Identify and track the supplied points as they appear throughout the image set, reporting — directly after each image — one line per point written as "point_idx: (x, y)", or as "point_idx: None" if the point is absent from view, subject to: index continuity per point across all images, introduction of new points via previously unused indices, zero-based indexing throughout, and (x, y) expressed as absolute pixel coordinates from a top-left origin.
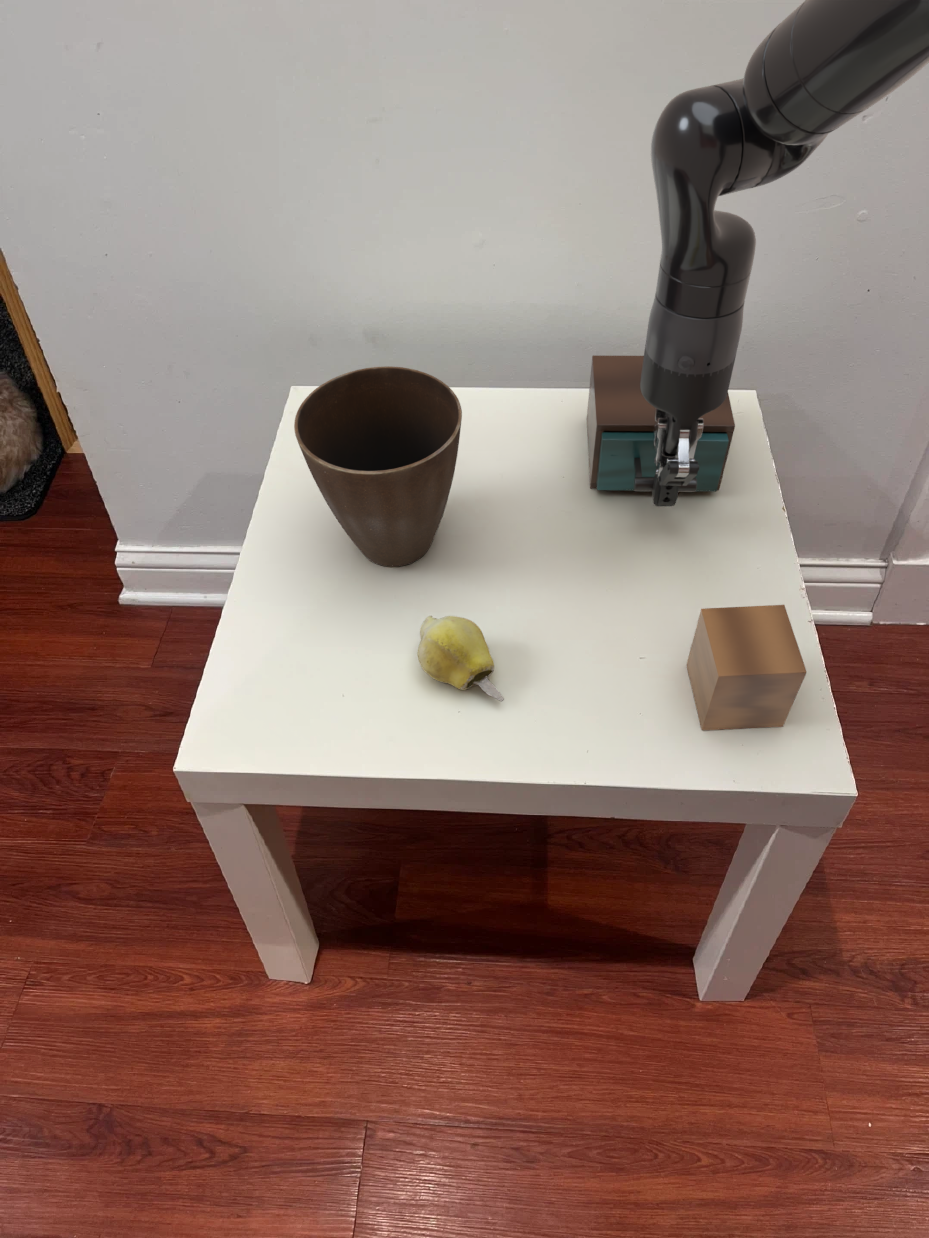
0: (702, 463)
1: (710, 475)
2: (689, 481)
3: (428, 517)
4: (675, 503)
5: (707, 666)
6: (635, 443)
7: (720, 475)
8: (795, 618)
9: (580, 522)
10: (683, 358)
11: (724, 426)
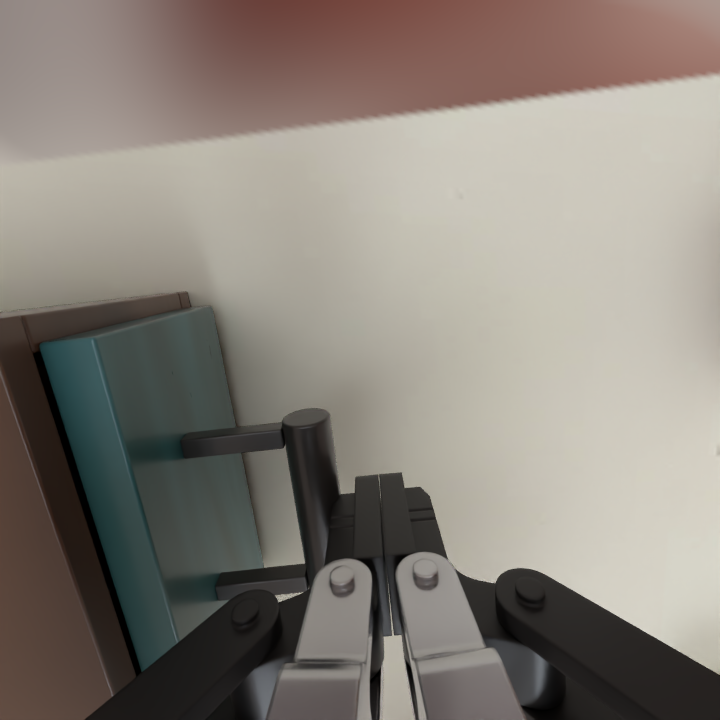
0: (178, 388)
1: (194, 342)
2: (669, 651)
3: None
4: (401, 473)
5: None
6: None
7: (164, 302)
8: (628, 102)
9: None
10: None
11: (6, 375)
